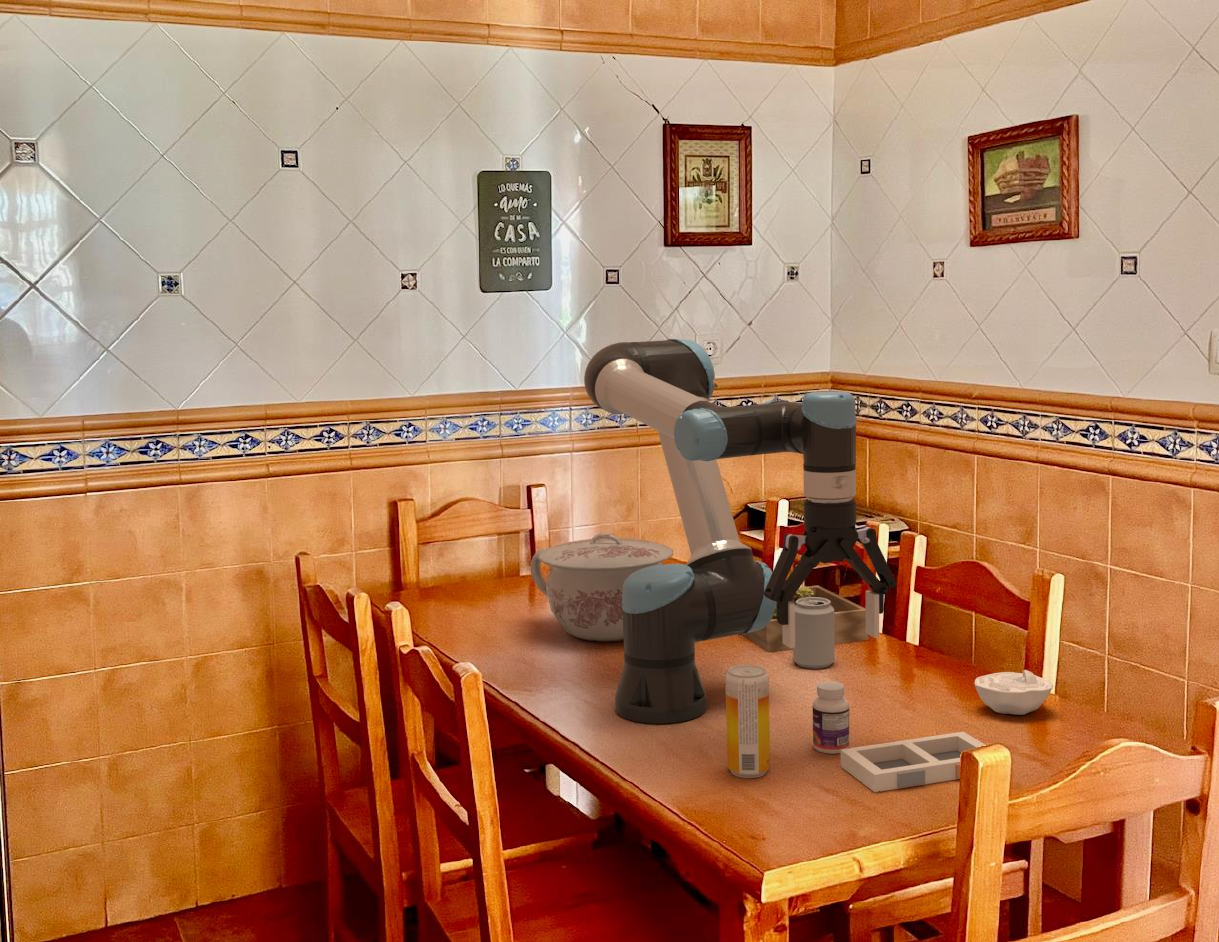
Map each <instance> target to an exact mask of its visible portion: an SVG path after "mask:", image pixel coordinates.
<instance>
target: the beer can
mask: <svg viewBox="0 0 1219 942" xmlns="http://www.w3.org/2000/svg"><path fill="white" fill-rule="evenodd" d="M769 680H770V679H769V675H768V674H767V671H766V668H765V667H763V666H761V665H758V664H757V665H756V664H738V665H734V666H733V665H732V666H730V667H729V668H728V670H727V674H726V675H725V714H726V716H725V717H726V719H725V720H726V721H725V722H726V730H725V731H726V762H727V763H726V767H727V769H728V770H730V772H731V774H732V775H734V776H735V777H738V778H741V779H742V778H743V779H754V778H755V779H757V778H760V777H763V776H765V775H766V773H767V771H769V769H770V767H771V749H770V746H771V745H770V744H771V741H770V740H771V739H770V735H771V734H770V683H769Z"/></svg>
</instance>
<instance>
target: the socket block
mask: <svg viewBox="0 0 1219 942" xmlns="http://www.w3.org/2000/svg"><path fill="white" fill-rule="evenodd" d="M986 745H987V744H985V743H983V742H981V741H980V740H978V739H977V738H974V737H973V736H971V735H970V734H968V733H967V732H964V731H959V732H958V731H957V732H952V733H945V734H938V735H933V736H924V737H917V738H912V739H905V740H898V741H897V740H895V741H890V742H885V743H878V744H870V745H863V746H862V745H861V746H858V747H857V746H856V747H849V748H848V749H841V753H840V767H841V768H842V769H843V770H845V771H846V772H847V773H849V774H850V775H851V776H852V777H854V778H855V779H856V780H858V781H859V782H861V784H863V785H864V786H866V787H867V788H868V789H869V790H871V791H872V792H873V793H879V791H880V792H885V791H891V790H897V789H905V788H910V787H916V786H918V787H919V786H922V785H923V786H924V785H929V784H936V783H941V782H949V781H954V780H955V781H956V780H961V779H960V754H961V752H963V751H965V750H968V749H973V748H977V747H981V746H986Z"/></svg>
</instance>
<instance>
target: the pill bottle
mask: <svg viewBox="0 0 1219 942" xmlns="http://www.w3.org/2000/svg"><path fill="white" fill-rule="evenodd" d="M816 693H817V697H815V698H814V699H813V700H812V744H813V745H812V746H813V748H814V749H815V751H818V752H819V753H823V754H831V755H834V754H835V755H836V754H841V749H848V748H850V702H849V700H847V698H846V697H844V696H845V685H844V684H843V683H842V682H839V681H833V680H832V681H830V680H829V681H822V682H819V683H817V685H816Z"/></svg>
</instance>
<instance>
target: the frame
mask: <svg viewBox="0 0 1219 942" xmlns="http://www.w3.org/2000/svg"><path fill="white" fill-rule="evenodd" d="M802 587H803V588H804V586H802ZM808 587H809V589H811V591H813V593H814V595H812V596H811V597H820V598H825V599H828V600H830V602H831V603H830V605H831V606H832V607H833V608H834V645H836V644H837V645H838V644H839V645H840V644H846V643H853V642H854V643H855V642H866V641H869V640H870V639H869V636H870V635H868V634H866V607H863V606H861V605H859V604H856V603H855V602H852V601H851V600H849V599H847V598H845V597H842V596H841V595H838V594H837V593H835V592H832V591H830V590H828V589H826V588H824V587H822V586H820V585H812V586H808ZM776 604H777V603H776ZM743 636H744V637H745V638H747V639H748V640H750V641H751V642H753V643H755V644H757V646H759V647H760V648H763V649H764V650H765V651H767V652H768V653H772V652H773V653H774V652H781V651H788V650H793V648H789V647H788V646H786V645H784V644H783V635H782V625H781V624H779V623H778V621H777V619H773V617H772V619H771V621H770V622H769V623H768V625H767V626H765V627H764V628H763V629H761V630H758V631H754V632H749V633H747V634H745V635H743Z"/></svg>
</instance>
